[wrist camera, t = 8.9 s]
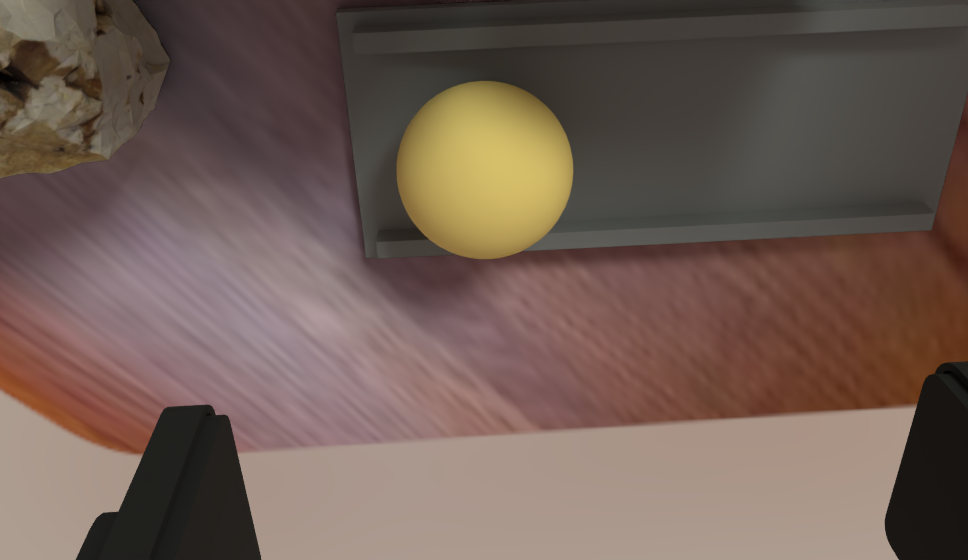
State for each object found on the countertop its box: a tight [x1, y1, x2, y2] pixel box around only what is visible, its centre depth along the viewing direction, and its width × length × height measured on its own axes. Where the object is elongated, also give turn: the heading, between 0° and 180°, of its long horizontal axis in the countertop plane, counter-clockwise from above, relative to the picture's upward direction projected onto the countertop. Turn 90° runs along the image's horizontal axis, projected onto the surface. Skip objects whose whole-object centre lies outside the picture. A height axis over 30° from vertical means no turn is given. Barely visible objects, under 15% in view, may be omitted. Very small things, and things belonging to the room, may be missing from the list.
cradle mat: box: [336, 0, 968, 259], centre depth 26 cm, size 19×8×1 cm, turn 92°
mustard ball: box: [396, 81, 573, 259], centre depth 24 cm, size 5×5×5 cm
